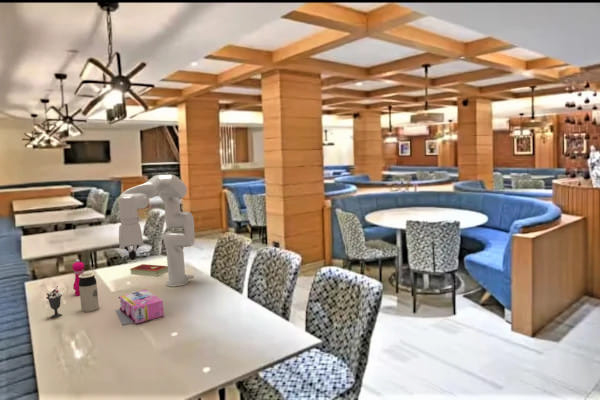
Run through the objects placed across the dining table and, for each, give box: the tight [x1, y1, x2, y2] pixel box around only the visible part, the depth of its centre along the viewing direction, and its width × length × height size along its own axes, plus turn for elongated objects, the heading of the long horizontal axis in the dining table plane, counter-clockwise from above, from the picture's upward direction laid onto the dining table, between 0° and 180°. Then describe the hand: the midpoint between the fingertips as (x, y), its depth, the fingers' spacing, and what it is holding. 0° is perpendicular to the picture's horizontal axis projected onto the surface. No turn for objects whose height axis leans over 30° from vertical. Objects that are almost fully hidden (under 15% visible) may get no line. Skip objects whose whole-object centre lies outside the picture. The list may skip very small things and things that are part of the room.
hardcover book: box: [129, 263, 168, 277], centre depth 283 cm, size 12×21×4 cm, turn 69°
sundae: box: [46, 287, 63, 319], centre depth 213 cm, size 7×7×15 cm
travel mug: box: [79, 272, 100, 313], centre depth 220 cm, size 8×8×18 cm
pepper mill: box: [72, 259, 85, 297], centre depth 245 cm, size 7×7×20 cm
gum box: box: [118, 289, 165, 325], centre depth 212 cm, size 24×8×14 cm
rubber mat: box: [115, 308, 135, 326], centre depth 213 cm, size 16×22×1 cm
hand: (132, 259), depth 209 cm, fingers closed
